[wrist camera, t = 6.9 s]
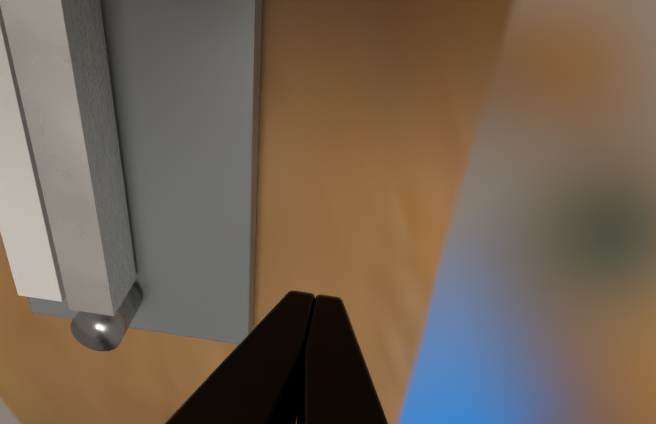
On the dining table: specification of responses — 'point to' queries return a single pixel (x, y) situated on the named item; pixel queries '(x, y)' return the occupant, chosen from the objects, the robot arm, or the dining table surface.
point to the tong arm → (77, 159)
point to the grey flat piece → (160, 165)
